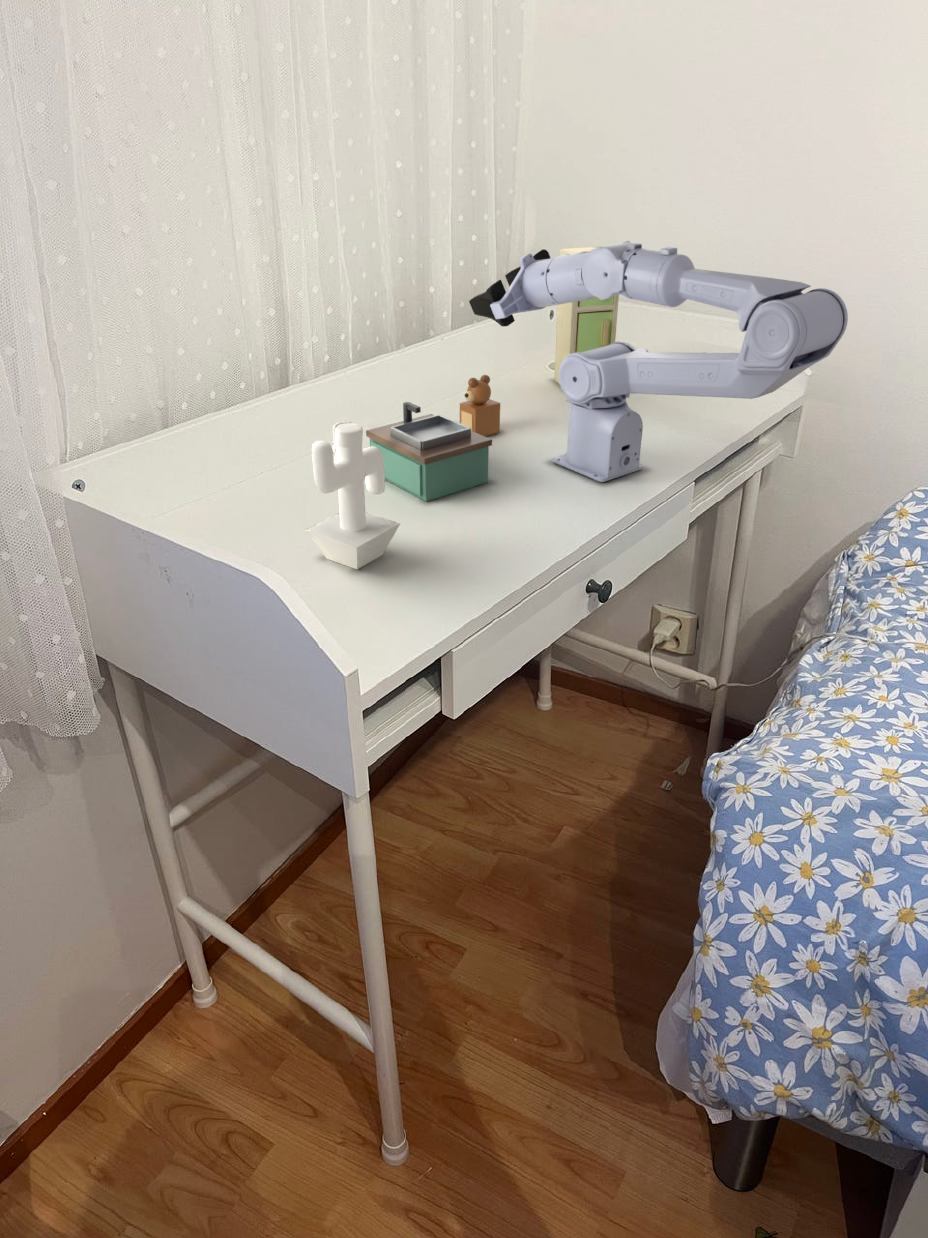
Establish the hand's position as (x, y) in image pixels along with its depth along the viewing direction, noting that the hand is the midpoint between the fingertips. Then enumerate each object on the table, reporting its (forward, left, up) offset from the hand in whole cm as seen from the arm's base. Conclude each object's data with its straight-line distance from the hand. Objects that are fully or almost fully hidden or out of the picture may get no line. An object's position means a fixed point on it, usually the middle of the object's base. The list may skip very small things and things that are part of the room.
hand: (491, 293), depth 134 cm
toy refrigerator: (+5, -25, -19) cm, 32 cm away
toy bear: (-2, +3, -19) cm, 19 cm away
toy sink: (-11, +19, -19) cm, 29 cm away
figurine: (-24, +39, -19) cm, 49 cm away
